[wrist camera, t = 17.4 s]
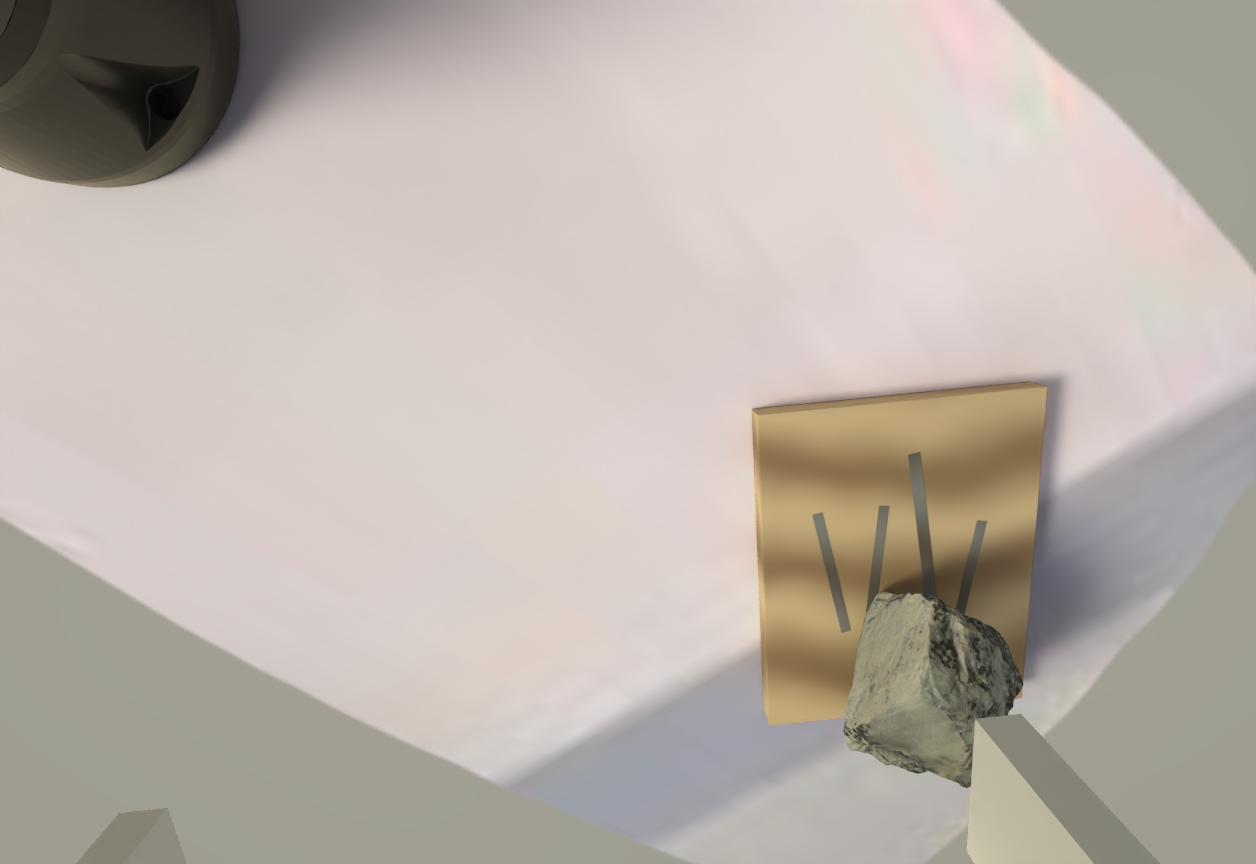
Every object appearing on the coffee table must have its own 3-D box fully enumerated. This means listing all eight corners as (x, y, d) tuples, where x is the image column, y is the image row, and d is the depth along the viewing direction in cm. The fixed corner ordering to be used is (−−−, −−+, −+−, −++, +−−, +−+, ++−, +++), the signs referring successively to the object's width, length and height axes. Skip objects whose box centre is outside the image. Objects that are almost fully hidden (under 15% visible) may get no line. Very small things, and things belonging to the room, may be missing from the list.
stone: (1038, 834, 31) (967, 679, 28) (840, 792, 37) (768, 664, 35) (1054, 677, 37) (997, 538, 34) (883, 665, 44) (825, 549, 41)
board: (751, 409, 37) (758, 415, 35) (1029, 381, 37) (1047, 386, 36) (763, 709, 42) (769, 725, 40) (1006, 682, 42) (1021, 698, 41)
